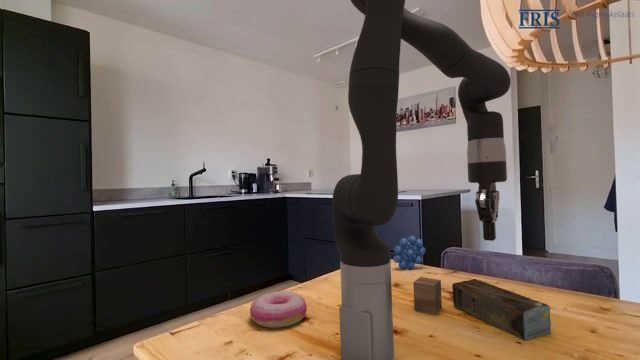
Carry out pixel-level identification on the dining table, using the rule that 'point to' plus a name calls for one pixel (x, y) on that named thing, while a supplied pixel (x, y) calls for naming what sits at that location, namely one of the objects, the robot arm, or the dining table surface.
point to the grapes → (409, 252)
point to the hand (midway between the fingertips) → (489, 239)
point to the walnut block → (427, 295)
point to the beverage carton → (503, 308)
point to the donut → (278, 309)
